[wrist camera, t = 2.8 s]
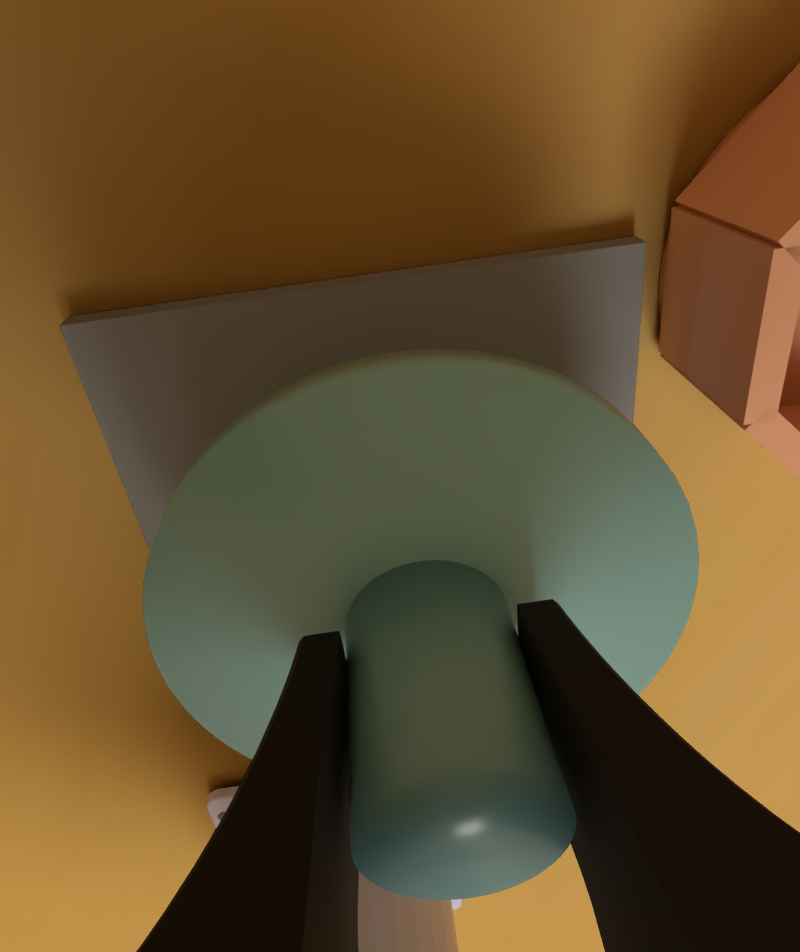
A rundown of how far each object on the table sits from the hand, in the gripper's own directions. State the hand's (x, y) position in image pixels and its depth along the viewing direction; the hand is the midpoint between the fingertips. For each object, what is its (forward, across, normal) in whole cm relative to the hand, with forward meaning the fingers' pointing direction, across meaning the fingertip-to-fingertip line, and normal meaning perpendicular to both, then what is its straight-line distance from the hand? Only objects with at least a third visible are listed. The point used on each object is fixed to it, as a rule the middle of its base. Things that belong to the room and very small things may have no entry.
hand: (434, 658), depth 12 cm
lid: (+2, 0, 0) cm, 2 cm away
